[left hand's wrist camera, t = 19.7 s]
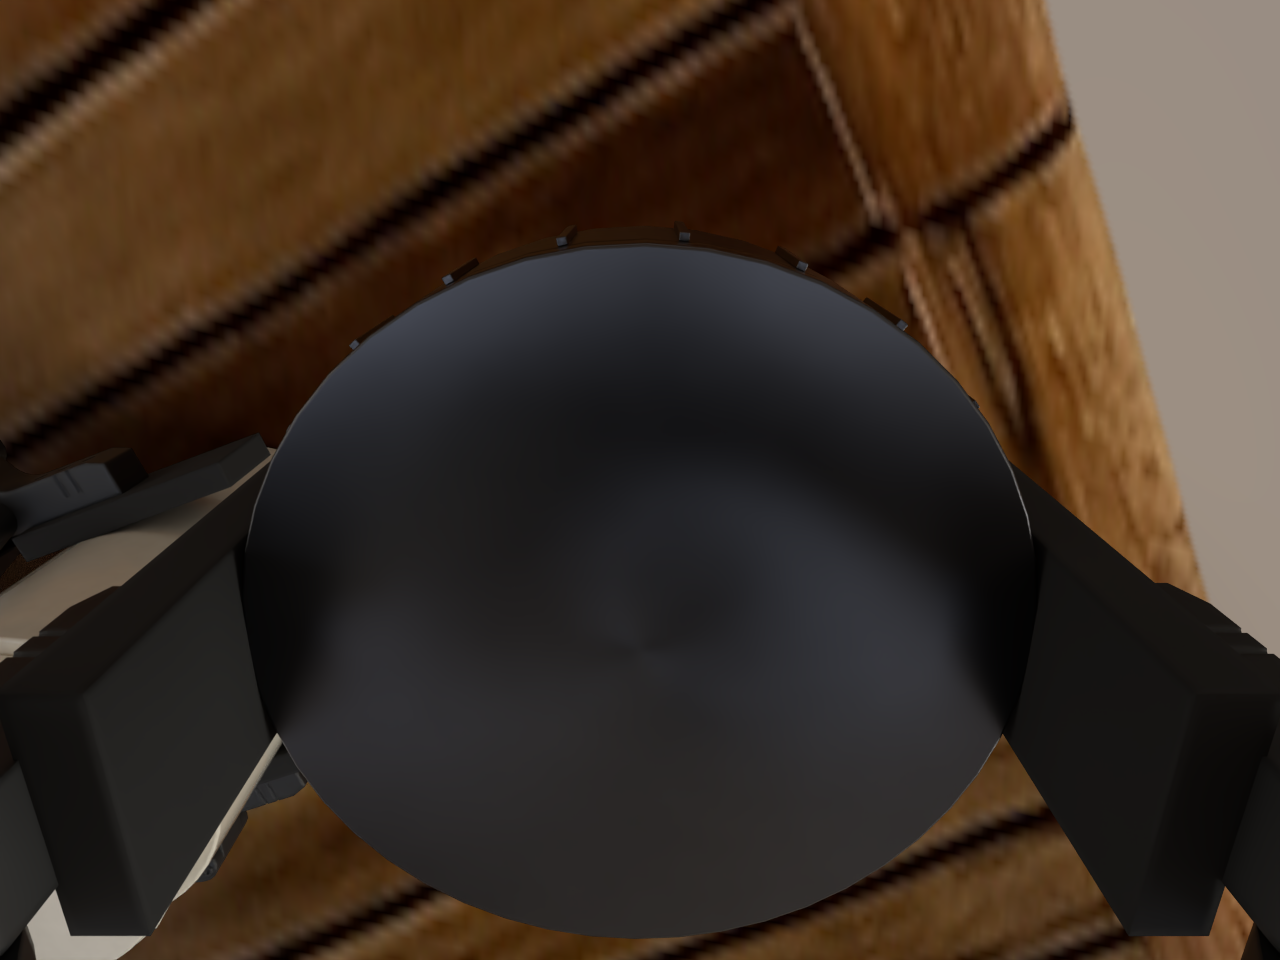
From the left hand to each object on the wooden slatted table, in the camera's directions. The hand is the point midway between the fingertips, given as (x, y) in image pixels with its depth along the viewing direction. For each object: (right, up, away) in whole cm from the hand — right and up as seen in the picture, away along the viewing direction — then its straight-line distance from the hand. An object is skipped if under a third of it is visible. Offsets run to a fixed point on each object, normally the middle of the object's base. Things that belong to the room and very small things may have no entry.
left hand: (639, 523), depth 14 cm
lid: (0, -1, -3) cm, 3 cm away
